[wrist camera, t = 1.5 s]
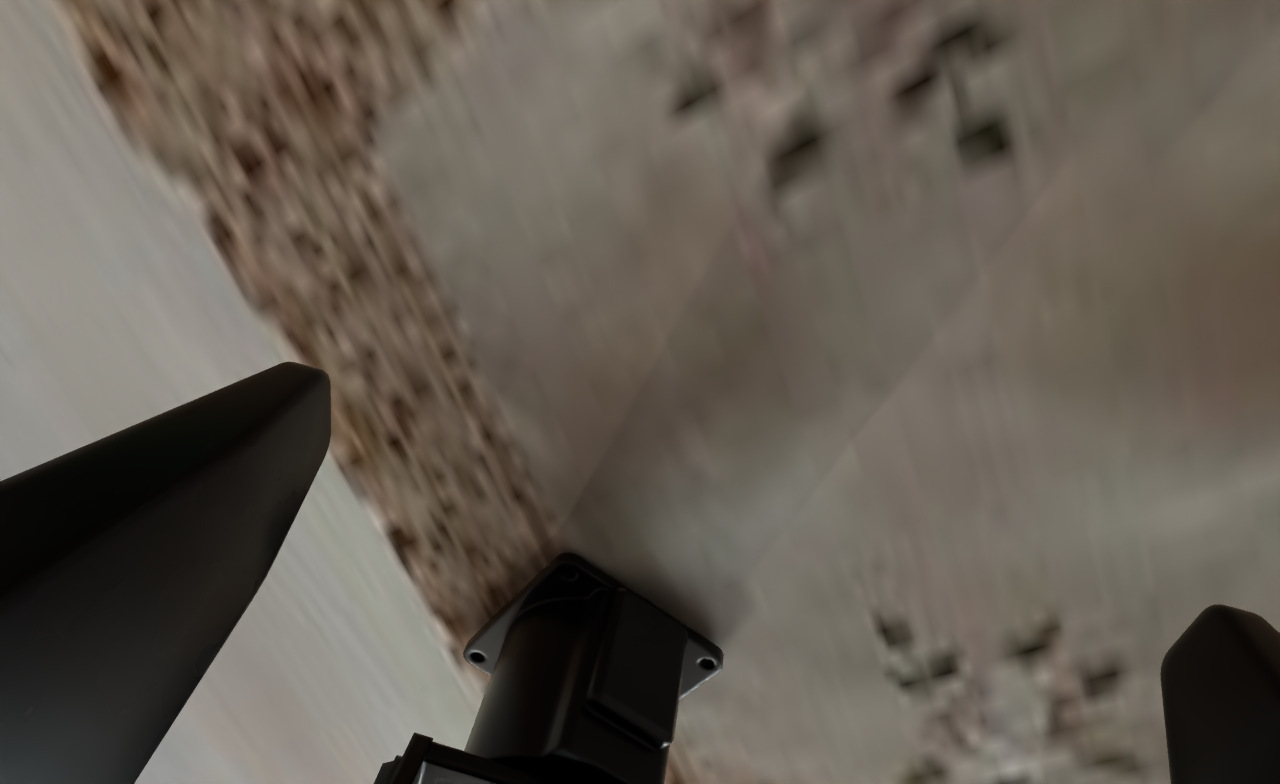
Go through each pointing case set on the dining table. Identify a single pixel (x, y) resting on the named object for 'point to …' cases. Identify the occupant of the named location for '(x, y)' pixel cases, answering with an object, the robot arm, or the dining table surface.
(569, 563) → the robot arm
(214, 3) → the dining table surface
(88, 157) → the dining table surface
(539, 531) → the dining table surface
